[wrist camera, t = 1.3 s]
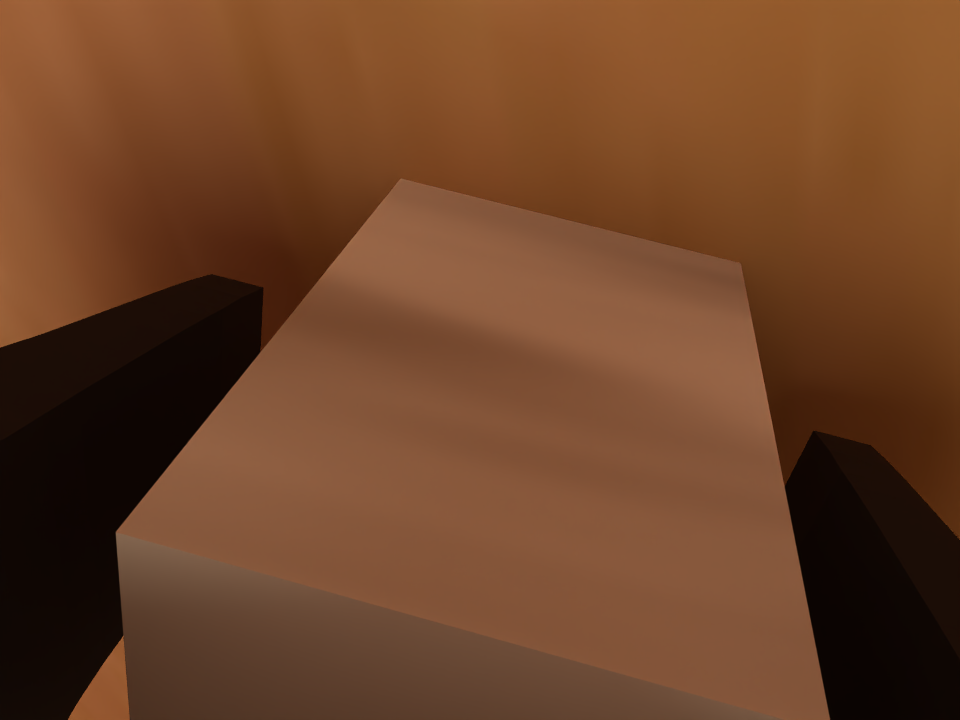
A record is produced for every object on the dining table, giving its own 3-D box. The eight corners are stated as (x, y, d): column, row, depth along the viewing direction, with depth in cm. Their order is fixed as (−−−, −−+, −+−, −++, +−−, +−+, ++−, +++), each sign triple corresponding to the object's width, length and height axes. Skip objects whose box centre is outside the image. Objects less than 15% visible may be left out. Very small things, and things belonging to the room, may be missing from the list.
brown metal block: (639, 517, 12) (622, 1027, 7) (364, 443, 12) (141, 882, 7) (740, 262, 9) (832, 733, 4) (401, 177, 10) (116, 532, 5)
